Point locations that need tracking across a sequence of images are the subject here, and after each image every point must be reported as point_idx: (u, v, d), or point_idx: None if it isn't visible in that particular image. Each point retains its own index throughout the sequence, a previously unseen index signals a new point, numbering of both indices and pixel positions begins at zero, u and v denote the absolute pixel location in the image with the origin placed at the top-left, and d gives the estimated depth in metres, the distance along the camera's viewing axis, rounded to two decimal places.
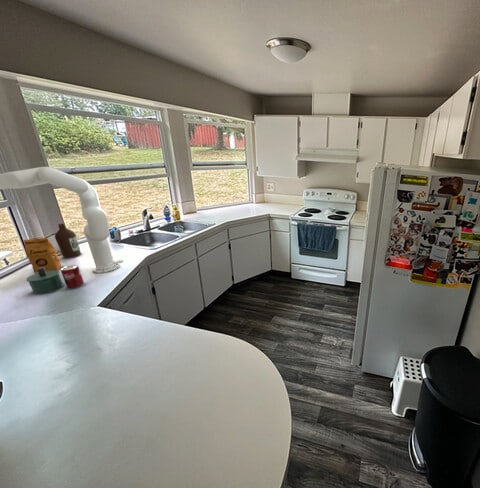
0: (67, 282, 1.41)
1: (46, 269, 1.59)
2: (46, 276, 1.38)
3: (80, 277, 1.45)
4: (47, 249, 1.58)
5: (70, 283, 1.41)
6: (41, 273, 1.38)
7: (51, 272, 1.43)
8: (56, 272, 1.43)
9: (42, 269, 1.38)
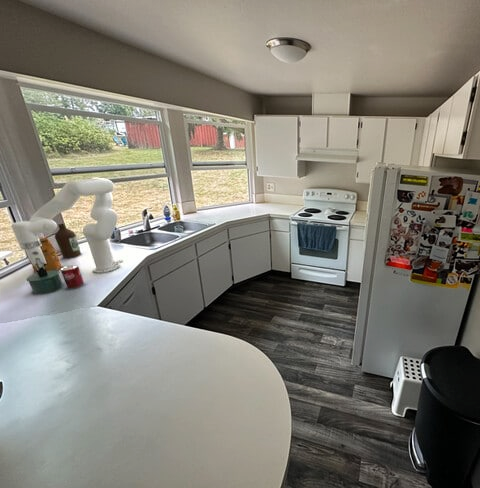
0: (67, 282, 1.41)
1: (46, 269, 1.59)
2: (46, 276, 1.38)
3: (80, 277, 1.45)
4: (47, 249, 1.58)
5: (70, 283, 1.41)
6: None
7: (51, 272, 1.43)
8: (56, 272, 1.43)
9: None
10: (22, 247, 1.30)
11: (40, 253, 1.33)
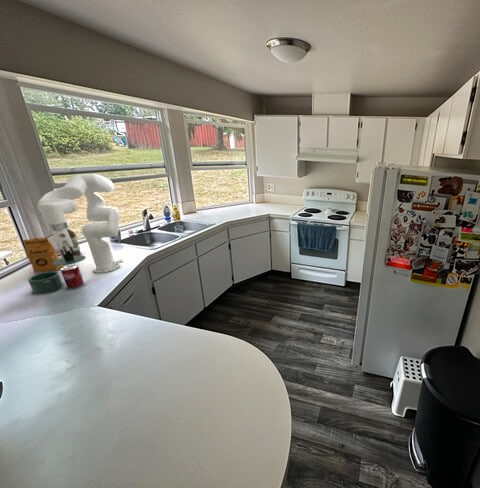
0: (67, 282, 1.41)
1: (46, 269, 1.59)
2: (72, 260, 1.32)
3: (80, 277, 1.45)
4: (47, 249, 1.58)
5: (70, 283, 1.41)
6: None
7: (77, 257, 1.37)
8: (82, 257, 1.37)
9: None
10: (49, 229, 1.23)
11: (67, 236, 1.27)
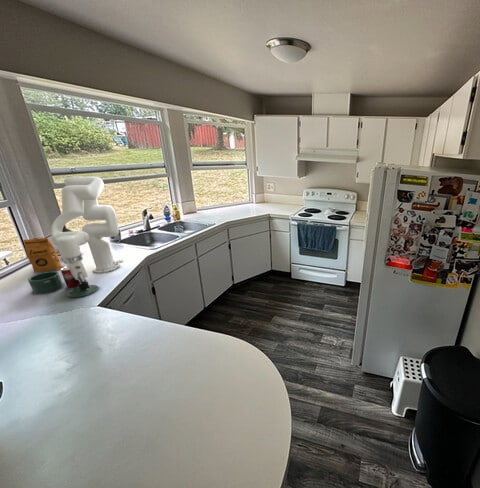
0: (67, 282, 1.41)
1: (46, 269, 1.59)
2: (86, 291, 1.38)
3: None
4: (47, 249, 1.58)
5: (70, 283, 1.41)
6: None
7: (90, 287, 1.43)
8: (95, 287, 1.43)
9: None
10: (65, 262, 1.30)
11: (82, 267, 1.34)
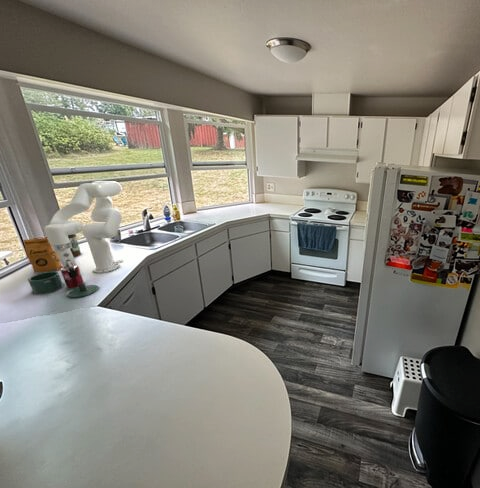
0: (67, 282, 1.41)
1: (46, 269, 1.59)
2: (86, 291, 1.38)
3: (80, 277, 1.45)
4: (47, 249, 1.58)
5: (70, 283, 1.41)
6: (82, 288, 1.38)
7: (90, 287, 1.43)
8: (95, 287, 1.43)
9: (83, 284, 1.38)
10: (54, 249, 1.34)
11: (71, 255, 1.37)
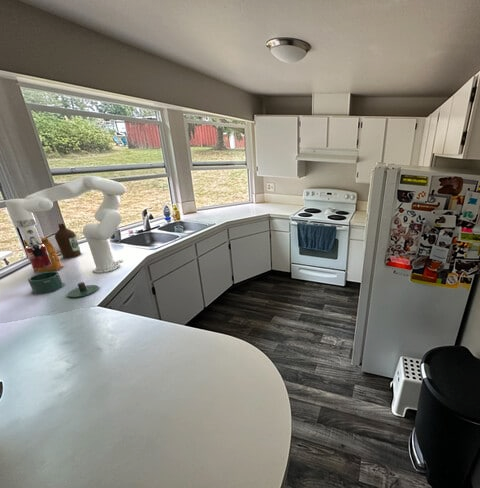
0: (32, 261, 1.33)
1: (46, 269, 1.59)
2: (86, 291, 1.38)
3: (47, 257, 1.37)
4: (47, 249, 1.58)
5: (35, 263, 1.33)
6: (82, 288, 1.38)
7: (90, 287, 1.43)
8: (95, 287, 1.43)
9: (83, 284, 1.38)
10: (16, 225, 1.26)
11: (35, 232, 1.30)
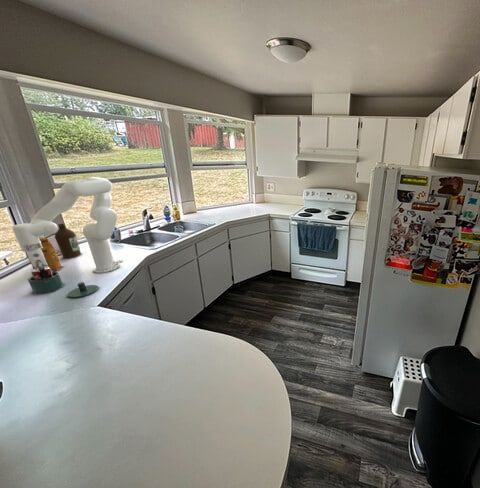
0: None
1: None
2: (86, 291, 1.38)
3: None
4: (47, 249, 1.58)
5: None
6: (82, 288, 1.38)
7: (90, 287, 1.43)
8: (95, 287, 1.43)
9: (83, 284, 1.38)
10: (23, 249, 1.30)
11: (41, 255, 1.34)
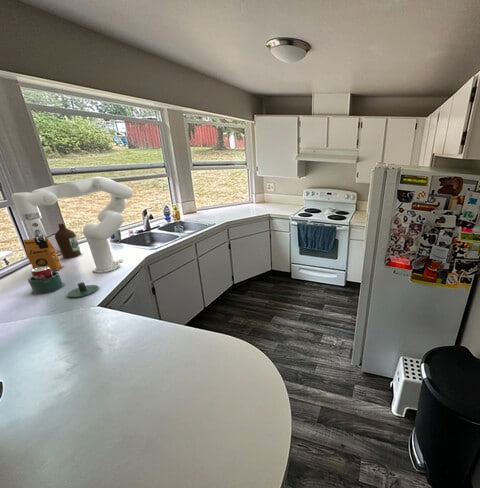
0: None
1: None
2: (86, 291, 1.38)
3: None
4: (47, 249, 1.58)
5: None
6: (82, 288, 1.38)
7: (90, 287, 1.43)
8: (95, 287, 1.43)
9: (83, 284, 1.38)
10: (22, 218, 1.29)
11: (40, 225, 1.32)
